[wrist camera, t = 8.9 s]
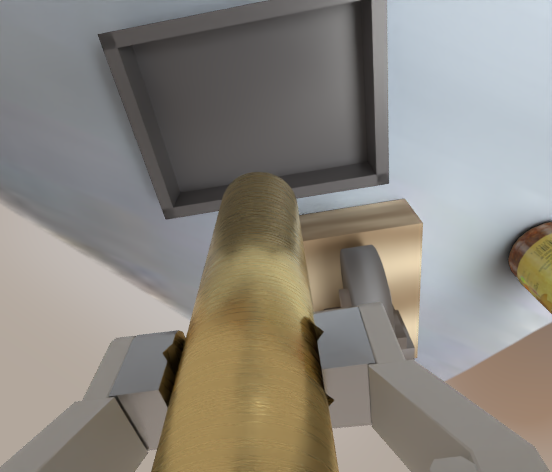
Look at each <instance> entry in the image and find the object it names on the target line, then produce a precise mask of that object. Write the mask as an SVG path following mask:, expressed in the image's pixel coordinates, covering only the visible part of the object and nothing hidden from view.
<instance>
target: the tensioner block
mask: <svg viewBox="0 0 552 472" xmlns="http://www.w3.org/2000/svg"><path fill="white" fill-rule="evenodd" d="M299 219H300V225H301V231H302V238H303V244H304V251H305V257H306V264H307V270H308V277H309V283H310V289H311V296H312V302H313V309H314V312H316V311H323V310H330V309H337V308H343V307H350V306H357V305H362V304H368V303H375V302H381V303H382V304H383V306H384V308H385V311H386V313H387V316H388V318H389V321H390V323H391V326H392V328H393V331H394V333H395V335H396V338H397V340H398V343H399V345H400V348H401V350H402V353H403V355H404V358H405V360H412V359H413V360H414V358H417V348H418V325H419V302H420V278H421V255H422V232H423V223H422V221H421V220H420V219H419V217H418V216H417V214H416V213H415V212H414V210H413V209H412V208H411V206H410V205H409V204H408V202H407V201H406V200H405V199H400V200H394V201H387V202H381V203H374V204H368V205H362V206H355V207H349V208H343V209H336V210H330V211H324V212H317V213H311V214H305V215H299Z"/></svg>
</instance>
